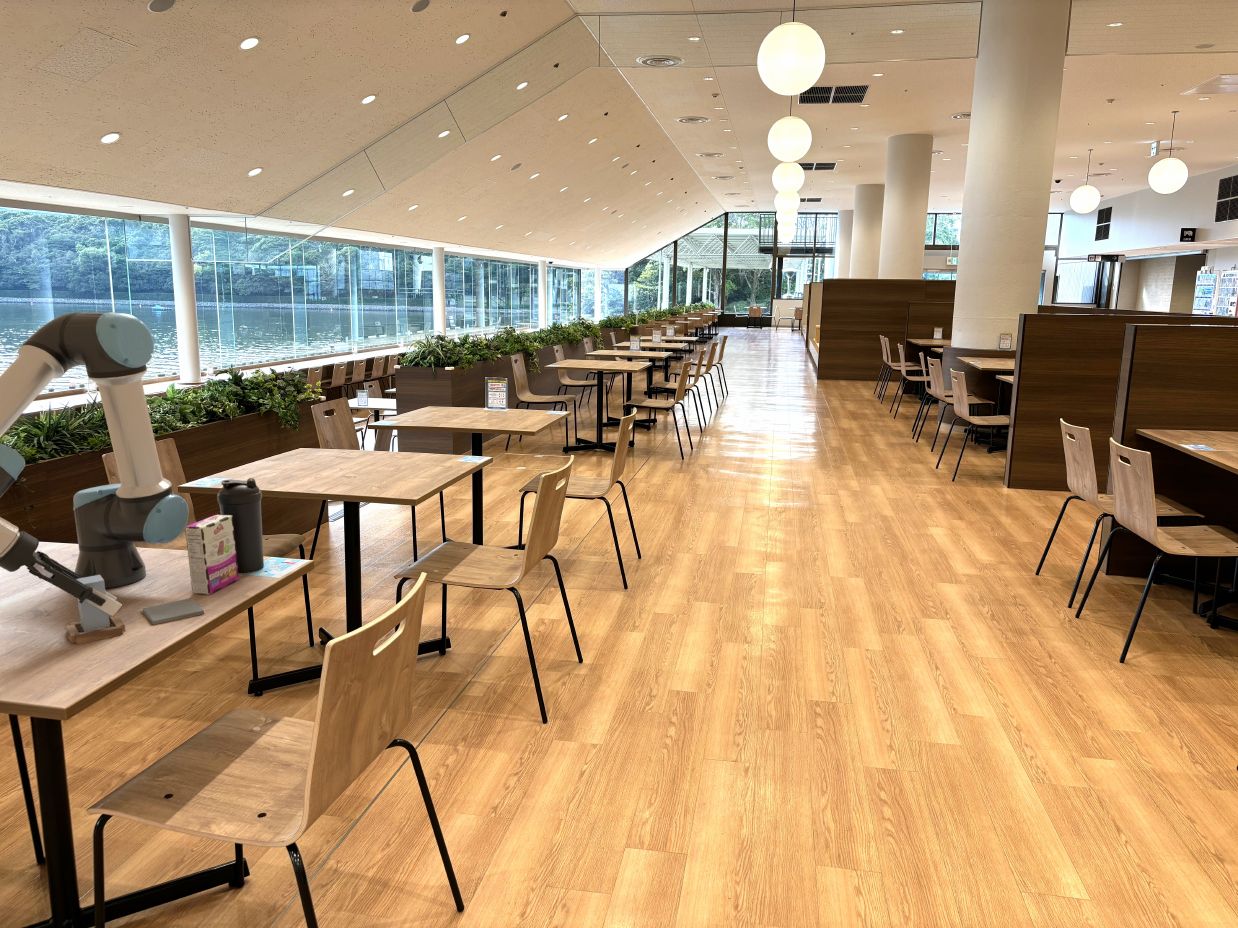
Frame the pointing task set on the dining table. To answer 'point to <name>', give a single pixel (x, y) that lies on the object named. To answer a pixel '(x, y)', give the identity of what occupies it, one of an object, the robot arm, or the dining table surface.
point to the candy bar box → (212, 554)
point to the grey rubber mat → (172, 611)
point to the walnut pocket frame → (95, 635)
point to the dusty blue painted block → (90, 614)
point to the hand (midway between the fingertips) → (114, 606)
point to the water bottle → (244, 521)
